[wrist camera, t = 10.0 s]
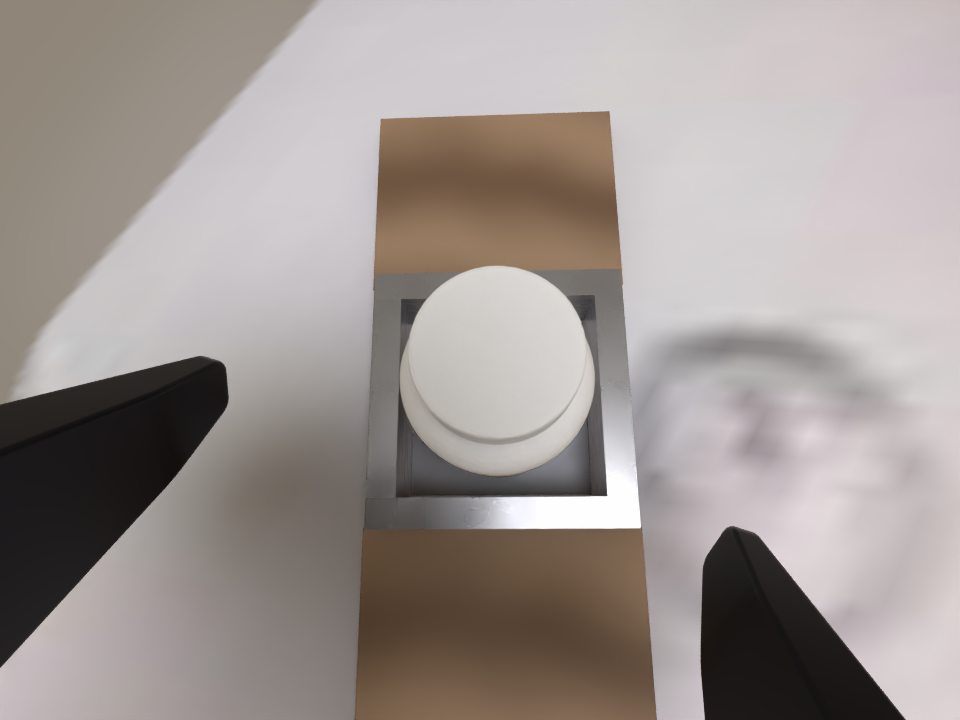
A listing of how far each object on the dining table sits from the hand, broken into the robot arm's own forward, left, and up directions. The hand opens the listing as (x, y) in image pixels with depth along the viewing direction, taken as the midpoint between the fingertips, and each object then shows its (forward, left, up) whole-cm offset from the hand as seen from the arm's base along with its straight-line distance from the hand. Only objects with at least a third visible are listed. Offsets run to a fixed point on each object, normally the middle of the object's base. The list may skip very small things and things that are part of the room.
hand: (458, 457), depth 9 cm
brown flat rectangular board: (+3, -1, -12) cm, 12 cm away
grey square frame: (+3, -1, -12) cm, 12 cm away
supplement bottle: (+2, -1, -12) cm, 12 cm away
